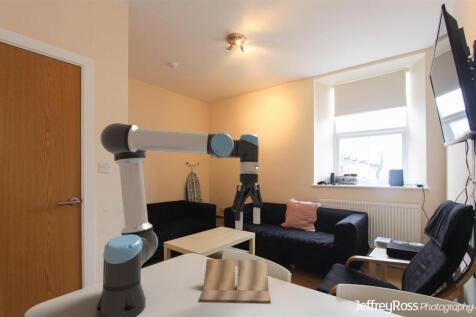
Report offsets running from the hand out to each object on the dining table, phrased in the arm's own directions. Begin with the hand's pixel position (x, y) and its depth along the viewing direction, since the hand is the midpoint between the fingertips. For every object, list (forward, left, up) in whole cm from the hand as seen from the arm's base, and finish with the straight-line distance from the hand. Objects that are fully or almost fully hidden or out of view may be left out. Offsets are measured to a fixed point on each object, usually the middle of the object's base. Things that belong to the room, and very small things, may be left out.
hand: (248, 226), depth 97 cm
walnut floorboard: (-5, -7, -25) cm, 26 cm away
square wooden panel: (+2, +2, -20) cm, 20 cm away
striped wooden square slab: (-11, +2, -20) cm, 23 cm away
